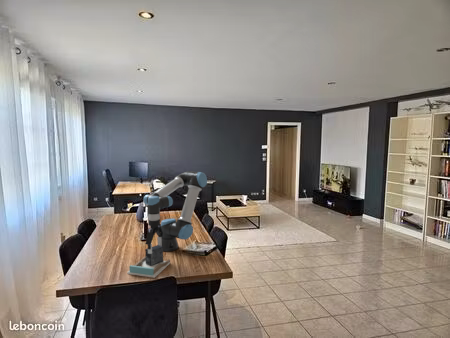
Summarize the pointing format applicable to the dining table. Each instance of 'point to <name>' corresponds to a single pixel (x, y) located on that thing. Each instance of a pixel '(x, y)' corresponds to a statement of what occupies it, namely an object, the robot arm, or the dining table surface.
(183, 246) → the dining table surface
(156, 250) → the small box
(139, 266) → the light blue shallow tray
